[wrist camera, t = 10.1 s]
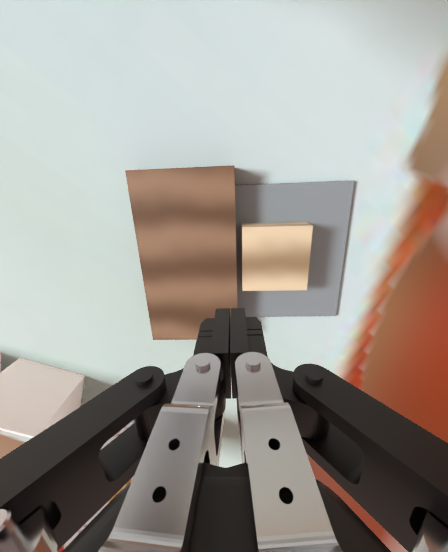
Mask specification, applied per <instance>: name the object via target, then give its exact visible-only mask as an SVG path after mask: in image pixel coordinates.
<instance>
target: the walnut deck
mask: <svg viewBox="0 0 448 552" xmlns="http://www.w3.org/2000/svg"><path fill="white" fill-rule="evenodd" d="M125 172H126V178H127V184H128V190H129V196H130V202H131V208H132V214H133V220H134V226H135V232H136V238H137V245H138V251H139V257H140V263H141V269H142V275H143V281H144V287H145V293H146V299H147V305H148V311H149V318H150V324H151V330H152V336H153V340H189V339H197V337H198V333H199V328H200V324H201V323H202V322H203V321H204V320H205V319H206V318H215V310H216V309H218V308H230V320H231V308H238V307H237V262H236V216H235V171H234V166H214V167H193V168H171V169H149V170H127V171H125Z"/></svg>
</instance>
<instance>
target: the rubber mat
mask: <svg viewBox="0 0 448 552" xmlns="http://www.w3.org/2000/svg"><path fill="white" fill-rule="evenodd" d="M353 187H354V181H330V182H306V183H281V184H257V185H235V216H236V262H237V307H238V308H245V315H246V317H282V316H336V312H337V305H338V297H339V290H340V283H341V275H342V268H343V261H344V253H345V246H346V239H347V231H348V224H349V217H350V209H351V202H352V195H353ZM280 222H307V223H309V224H311V225H313V231H312V241H311V252H310V262H309V273H308V283H307V290H287V291H242V223H280Z"/></svg>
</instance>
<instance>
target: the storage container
mask: <svg viewBox="0 0 448 552" xmlns="http://www.w3.org/2000/svg"><path fill="white" fill-rule="evenodd" d="M84 378H85V375H81V374H77V373H74V372H70V371H66V370H63V369H59V368H55V367H52V366H48V365H45V364H41V363H37V362H34V361H30V360H26V359H23V358H18V359H17V360H16V361H15V362H13V363H12V364H11V365H10V366H8V367H7V368H6V369H5V370H3V371H2V372H1V352H0V431H1V430H2V431H6V432H10V433H14V434H18V435H22V436H26V437H30V438H33V437H35V436H36V435H38V434H39V433H41V432H42V431H44V430H45V429H47V428H49V427H50V426H52V425H53V424H55V423H56V422H58V421H59V420H61V419H62V418H64V417H65V416H67V415H69V414H70V413H72V412H73V411H75V410H76V409H78V408H79V407H80V406H81V399H82V392H83V385H84Z"/></svg>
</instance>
